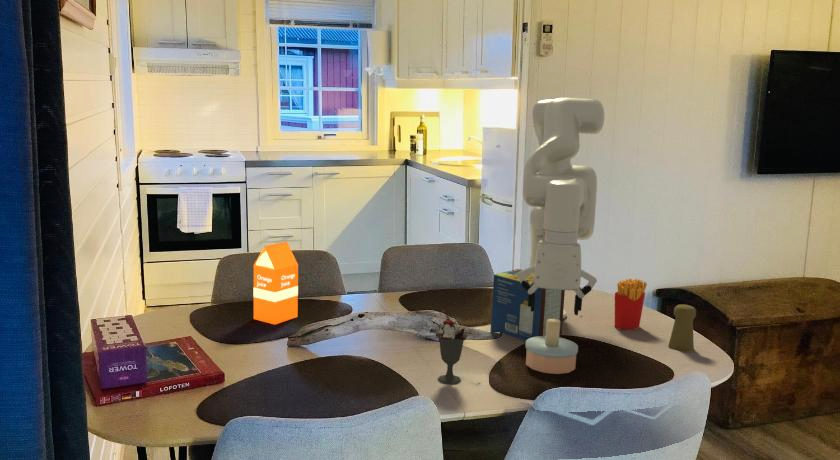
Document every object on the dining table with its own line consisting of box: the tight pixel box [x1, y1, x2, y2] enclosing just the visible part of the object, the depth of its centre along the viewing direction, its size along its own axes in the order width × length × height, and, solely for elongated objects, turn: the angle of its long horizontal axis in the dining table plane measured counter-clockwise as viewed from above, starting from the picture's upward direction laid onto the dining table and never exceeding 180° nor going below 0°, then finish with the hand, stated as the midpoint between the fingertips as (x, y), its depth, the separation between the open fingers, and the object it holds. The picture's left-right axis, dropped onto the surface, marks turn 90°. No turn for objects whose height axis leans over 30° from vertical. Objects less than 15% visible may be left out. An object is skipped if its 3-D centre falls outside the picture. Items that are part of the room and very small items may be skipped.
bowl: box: [525, 349, 577, 375], centre depth 162 cm, size 11×11×4 cm
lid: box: [524, 319, 579, 358], centre depth 161 cm, size 12×12×6 cm
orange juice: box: [252, 241, 299, 326], centre depth 189 cm, size 8×9×20 cm
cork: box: [668, 304, 697, 353], centre depth 179 cm, size 6×6×11 cm
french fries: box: [614, 278, 648, 331], centre depth 194 cm, size 9×4×13 cm, turn 115°
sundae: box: [435, 310, 468, 385], centre depth 152 cm, size 7×7×15 cm
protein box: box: [490, 268, 566, 341], centre depth 183 cm, size 10×15×16 cm
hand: (554, 311), depth 161 cm, fingers open, 9 cm apart
